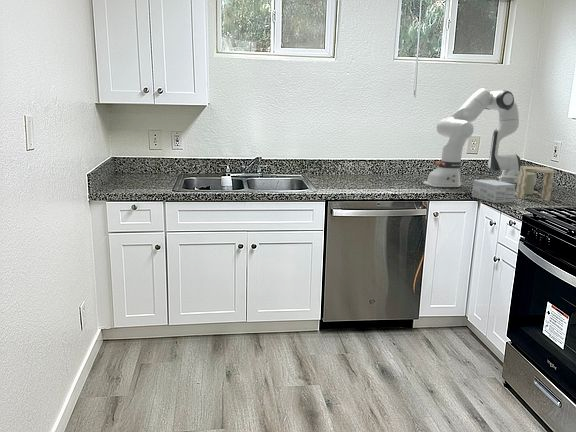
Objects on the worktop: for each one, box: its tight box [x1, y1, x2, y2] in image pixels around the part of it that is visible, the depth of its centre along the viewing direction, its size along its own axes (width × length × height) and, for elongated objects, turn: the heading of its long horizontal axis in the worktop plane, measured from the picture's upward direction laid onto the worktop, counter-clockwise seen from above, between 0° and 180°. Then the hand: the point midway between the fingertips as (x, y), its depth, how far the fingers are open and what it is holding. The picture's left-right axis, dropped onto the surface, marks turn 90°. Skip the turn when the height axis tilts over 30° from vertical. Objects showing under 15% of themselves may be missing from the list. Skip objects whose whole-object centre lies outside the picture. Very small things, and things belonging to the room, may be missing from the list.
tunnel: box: [514, 165, 555, 202], centre depth 278 cm, size 24×14×16 cm, turn 171°
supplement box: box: [471, 179, 517, 204], centre depth 267 cm, size 17×13×9 cm
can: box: [515, 171, 537, 195], centre depth 286 cm, size 9×9×12 cm
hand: (520, 181), depth 295 cm, fingers closed
